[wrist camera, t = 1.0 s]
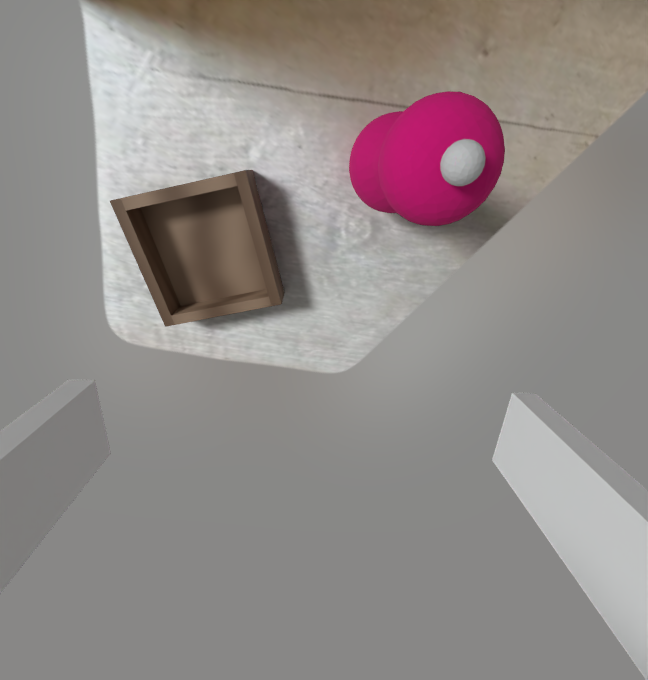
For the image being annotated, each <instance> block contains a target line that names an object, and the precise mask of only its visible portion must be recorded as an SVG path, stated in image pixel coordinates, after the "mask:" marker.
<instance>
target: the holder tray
mask: <svg viewBox="0 0 648 680" xmlns="http://www.w3.org/2000/svg"><path fill="white" fill-rule="evenodd" d="M110 203H111V205H112V207H113V210H114V212H115V214H116V216H117V219H118V221H119V223H120V225H121V228H122V230H123V232H124V234H125V237H126V239H127V241H128V243H129V246H130V248H131V250H132V252H133V255H134V257H135V259H136V261H137V264H138V266H139V268H140V270H141V273H142V275H143V277H144V279H145V282H146V284H147V286H148V288H149V291H150V293H151V295H152V298H153V300H154V302H155V304H156V307H157V309H158V311H159V313H160V316H161V318H162V320H163V322H164V325H165V327H166V326H171V325H176V324H182V323H187V322H192V321H197V320H202V319H207V318H213V317H218V316H223V315H228V314H233V313H239V312H244V311H249V310H254V309H259V308H264V307H270V306H275V305H280V304H282V300H283V296H284V293H285V292H284V289H283V285H282V281H281V277H280V273H279V270H278V266H277V262H276V258H275V254H274V250H273V247H272V243H271V239H270V235H269V231H268V227H267V224H266V220H265V216H264V212H263V208H262V204H261V201H260V197H259V193H258V189H257V185H256V181H255V178H254V174H253V170H245V171H240V172H236V173H231V174H227V175H222V176H218V177H214V178H209V179H205V180H200V181H196V182H191V183H187V184H182V185H178V186H174V187H169V188H165V189H160V190H156V191H151V192H147V193H142V194H138V195H134V196H129V197H125V198H120V199H116V200H111V201H110Z"/></svg>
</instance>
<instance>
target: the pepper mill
mask: <svg viewBox="0 0 648 680" xmlns="http://www.w3.org/2000/svg"><path fill="white" fill-rule="evenodd" d="M504 153H505V147H504V138H503V133H502V129H501V126H500V124H499V122H498V120H497V118H496V116H495V115H494V113H493V112H492V111H491V109H490V108H489V107H488V106H487V105H486V104H485V103H484V102H482V101H481V100H479V99H477V98H476V97H474V96H472V95H468V94H465V93H462V92H442V93H436V94H432V95H429V96H426V97H424V98H422V99H420V100H418V101H416V102H415V103H414V104H412V105H411V106H410V107H409V108H407V109H406V110H405V111H403V112H401V111H399V112H393V113H388V114H385V115H382V116H380V117H378V118H376V119H374V120H373V121H372V122H370V123H369V124H368V125H367V126H366V127H365V128H364V129H363V130H362V131H361V133H360V134H359V136H358V137H357V139H356V141H355V143H354V145H353V148H352V151H351V156H350V163H349V172H350V178H351V182H352V185H353V188H354V190H355V192H356V193H357V195H358V196H359V197H360V199H361V200H362V201H363V202H364V203H365V204H367V205H368V206H369V207H371V208H373V209H375V210H378V211H381V212H387V213H398V214H399V215H401V216H402V217H404V218H405V219H407V220H408V221H411V222H413V223H416V224H420V225H427V226H440V225H446V224H450V223H452V222H455V221H458V220H460V219H462V218H463V217H465V216H467V215H469V214H470V213H471V212H473V211H474V210H475V209H477V208H478V207H479V206H480V205H481V204H482V203H483V202H484V201H485V200H486V198H487V197H488V196H489V194H490V193H491V191H492V190H493V188H494V187H495V185H496V183H497V181H498V178H499V176H500V174H501V170H502V167H503V163H504Z"/></svg>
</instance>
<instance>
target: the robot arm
mask: <svg viewBox="0 0 648 680" xmlns="http://www.w3.org/2000/svg"><path fill="white" fill-rule="evenodd" d="M110 454H111V451H110V447H109V442H108V438H107V433H106V429H105V424H104V419H103V415H102V410H101V406H100V401H99V397H98V392H97V388H96V383H95V380H68V381H66V382H65V383H64V384H62V385H61V386H60V387H58V388H57V389H56V390H54V391H53V392H52V393H50V394H49V395H48V396H46V397H45V398H44V399H42V400H41V401H39V402H38V403H37V404H35V405H34V406H33V407H32V408H30V409H29V410H27V411H26V412H25V413H23V414H22V415H21V416H19V417H18V418H17V419H15V420H14V421H13V422H11V423H10V424H9V425H7V426H6V427H5V428H3V429H2V430H1V431H0V594H1V592H2V591H3V590H4V589H5V587H6V586H7V585H8V583H9V582H10V581H11V579H12V578H13V577H14V576H15V575H16V573H17V572H18V571H19V569H20V568H21V567H22V566H23V564H24V563H25V562H26V561H27V559H28V558H29V557H30V555H31V554H32V553H33V551H34V550H35V549H36V548H37V547H38V545H39V544H40V543H41V541H42V540H43V539H44V538H45V536H46V535H47V534H48V532H49V531H50V530H51V528H52V527H53V526H54V525H55V524H56V522H57V521H58V520H59V518H60V517H61V516H62V515H63V513H64V512H65V511H66V510H67V508H68V507H69V506H70V504H71V503H72V502H73V501H74V499H75V498H76V497H77V496H78V494H79V493H80V492H81V490H82V489H83V488H84V487H85V485H86V484H87V483H88V482H89V480H90V479H91V478H92V476H93V475H94V474H95V473H96V471H97V470H98V469H99V467H100V466H101V465H102V464H103V463H104V461H105V460H106V459H107V457H108V456H109V455H110ZM492 460H493V462H494V463H495V465H496V466H497V468H498V469H499V470H500V472H501V473H502V475H503V476H504V478H505V479H506V480H507V482H508V483H509V485H510V486H511V488H512V489H513V490H514V492H515V493H516V495H517V496H518V498H519V499H520V500H521V502H522V503H523V505H524V506H525V508H526V509H527V510H528V512H529V513H530V515H531V516H532V517H533V519H534V520H535V522H536V523H537V525H538V526H539V528H540V529H541V530H542V532H543V533H544V535H545V536H546V538H547V539H548V540H549V542H550V543H551V545H552V546H553V548H554V549H555V550H556V552H557V553H558V555H559V556H560V558H561V559H562V560H563V562H564V563H565V565H566V566H567V568H568V569H569V571H570V572H571V573H572V575H573V576H574V578H575V579H576V580H577V582H578V583H579V585H580V586H581V587H582V589H583V591H584V592H585V593H586V595H587V596H588V598H589V599H590V600H591V602H592V603H593V605H594V606H595V608H596V609H597V610H598V612H599V613H600V615H601V616H602V617H603V619H604V621H605V622H606V623H607V625H608V626H609V628H610V629H611V631H612V632H613V633H614V635H615V636H616V638H617V639H618V641H619V642H620V643H621V645H622V646H623V648H624V649H625V650H626V652H627V653H628V655H629V656H630V658H631V659H632V661H633V662H634V663H635V665H636V666H637V668H638V669H639V671H640V672H641V673H642V675H643V676H644V678H645V679H646V680H648V490H647V489H646V488H644V487H643V486H642V485H641V484H639V483H638V482H637V481H636V480H635V479H634V478H633V477H632V476H631V475H629V474H628V473H627V472H626V471H625V470H624V469H622V468H621V467H620V466H619V465H618V464H617V463H615V462H614V461H613V460H612V459H611V458H609V457H608V456H607V455H606V454H605V453H604V452H603V451H601V450H600V449H599V448H598V447H597V446H596V445H595V444H593V443H592V442H591V441H590V440H589V439H588V438H586V437H585V436H584V435H583V434H582V433H581V432H579V431H578V430H577V429H576V428H575V427H574V426H572V425H571V424H570V423H569V422H568V421H567V420H565V419H564V418H563V417H562V416H561V415H560V414H558V413H557V412H556V411H555V410H554V409H553V408H551V407H550V406H549V405H548V404H547V403H546V402H544V401H543V400H542V399H541V398H540V397H539V396H538V395H536V394H535V393H512V395H511V399H510V402H509V405H508V409H507V413H506V416H505V419H504V422H503V426H502V429H501V432H500V436H499V439H498V443H497V446H496V449H495V452H494V456H493V459H492Z"/></svg>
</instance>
